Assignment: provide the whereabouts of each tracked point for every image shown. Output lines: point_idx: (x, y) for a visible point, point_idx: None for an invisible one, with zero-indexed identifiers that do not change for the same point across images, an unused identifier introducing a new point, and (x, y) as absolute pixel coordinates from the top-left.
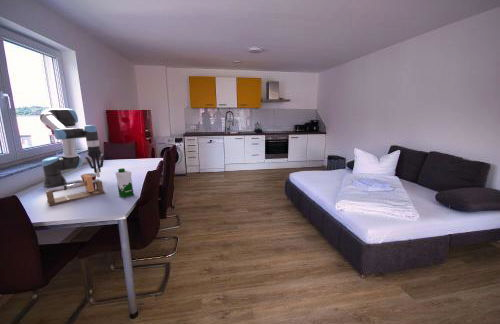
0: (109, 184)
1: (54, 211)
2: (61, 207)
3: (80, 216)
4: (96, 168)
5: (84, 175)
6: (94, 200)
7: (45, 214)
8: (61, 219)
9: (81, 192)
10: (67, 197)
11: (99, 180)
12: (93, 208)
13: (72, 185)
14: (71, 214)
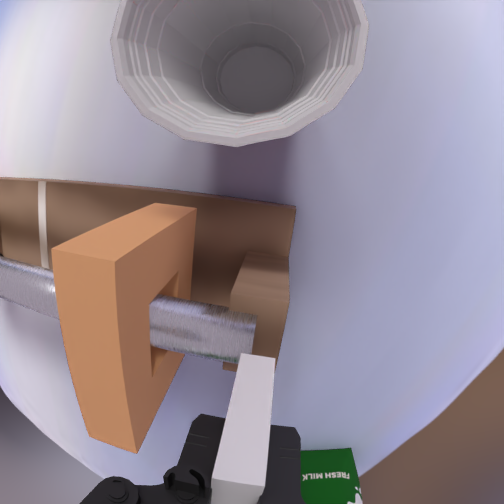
0: (434, 98)
1: (23, 362)
2: (36, 344)
3: (102, 471)
4: (225, 495)
5: (65, 302)
6: (168, 403)
7: (6, 360)
8: (56, 442)
9: (132, 196)
10: (46, 244)
11: (274, 323)
12: (143, 465)
13: (17, 303)
14: (76, 440)
